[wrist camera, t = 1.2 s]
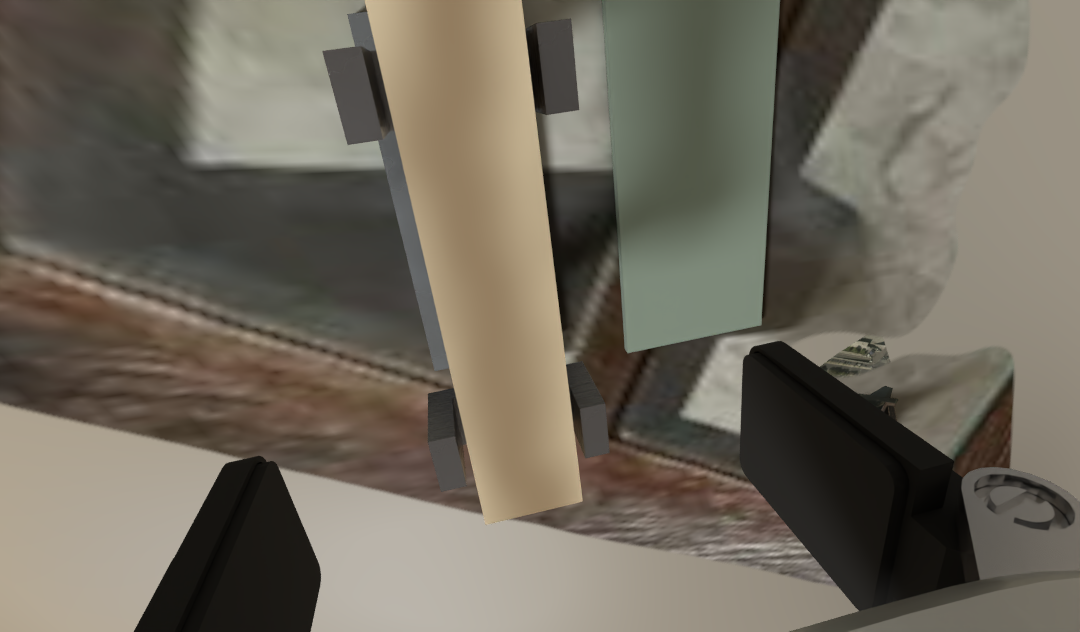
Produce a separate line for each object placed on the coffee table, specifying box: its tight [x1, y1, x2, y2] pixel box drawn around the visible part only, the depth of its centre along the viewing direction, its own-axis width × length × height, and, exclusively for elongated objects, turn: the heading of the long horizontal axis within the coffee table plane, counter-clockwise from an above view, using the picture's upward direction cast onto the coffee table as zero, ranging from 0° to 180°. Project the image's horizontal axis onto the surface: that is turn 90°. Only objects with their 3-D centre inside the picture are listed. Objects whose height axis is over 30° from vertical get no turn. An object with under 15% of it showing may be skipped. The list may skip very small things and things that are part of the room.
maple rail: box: [365, 0, 582, 525], centre depth 19 cm, size 4×19×3 cm, turn 7°
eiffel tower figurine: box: [820, 335, 898, 421], centre depth 39 cm, size 15×10×13 cm
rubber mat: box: [602, 0, 780, 353], centre depth 33 cm, size 10×24×1 cm, turn 7°
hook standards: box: [323, 12, 609, 492], centre depth 24 cm, size 8×20×15 cm, turn 7°
